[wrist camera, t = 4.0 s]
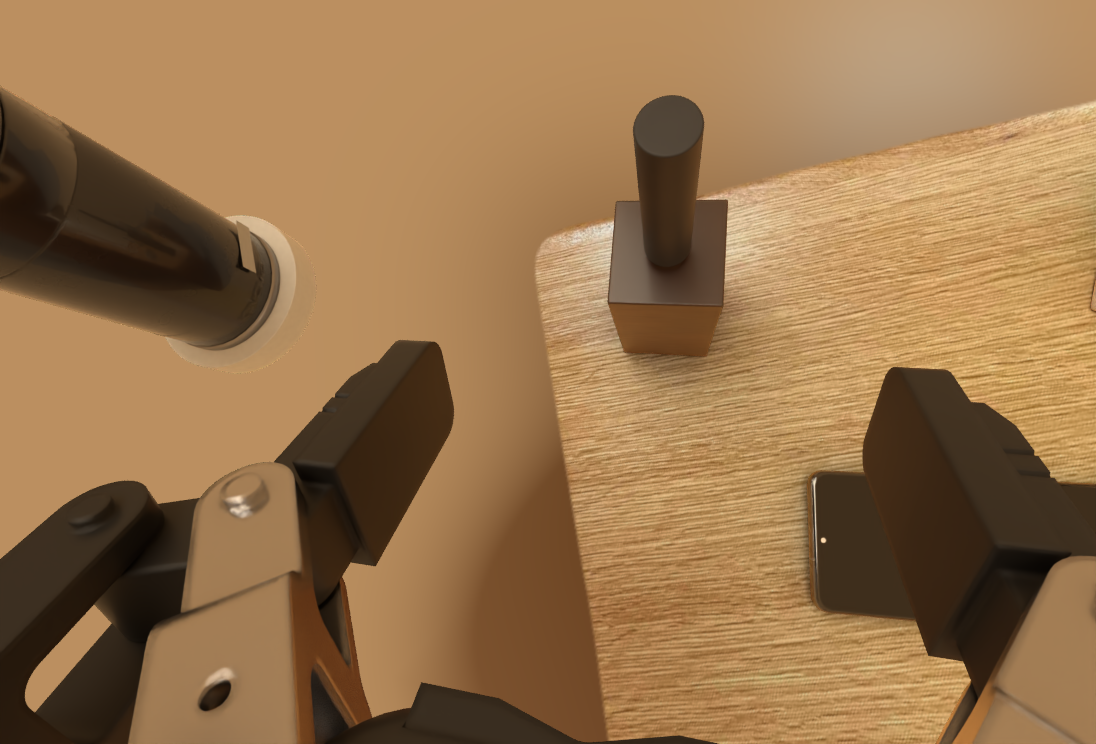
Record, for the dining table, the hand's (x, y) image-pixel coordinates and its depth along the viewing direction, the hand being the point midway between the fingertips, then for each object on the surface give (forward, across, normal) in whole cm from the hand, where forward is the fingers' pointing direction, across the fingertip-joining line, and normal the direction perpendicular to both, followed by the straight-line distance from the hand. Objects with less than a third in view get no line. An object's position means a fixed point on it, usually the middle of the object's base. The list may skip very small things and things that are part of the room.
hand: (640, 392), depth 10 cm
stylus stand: (+22, 0, +10) cm, 25 cm away
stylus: (+15, 0, +3) cm, 16 cm away
